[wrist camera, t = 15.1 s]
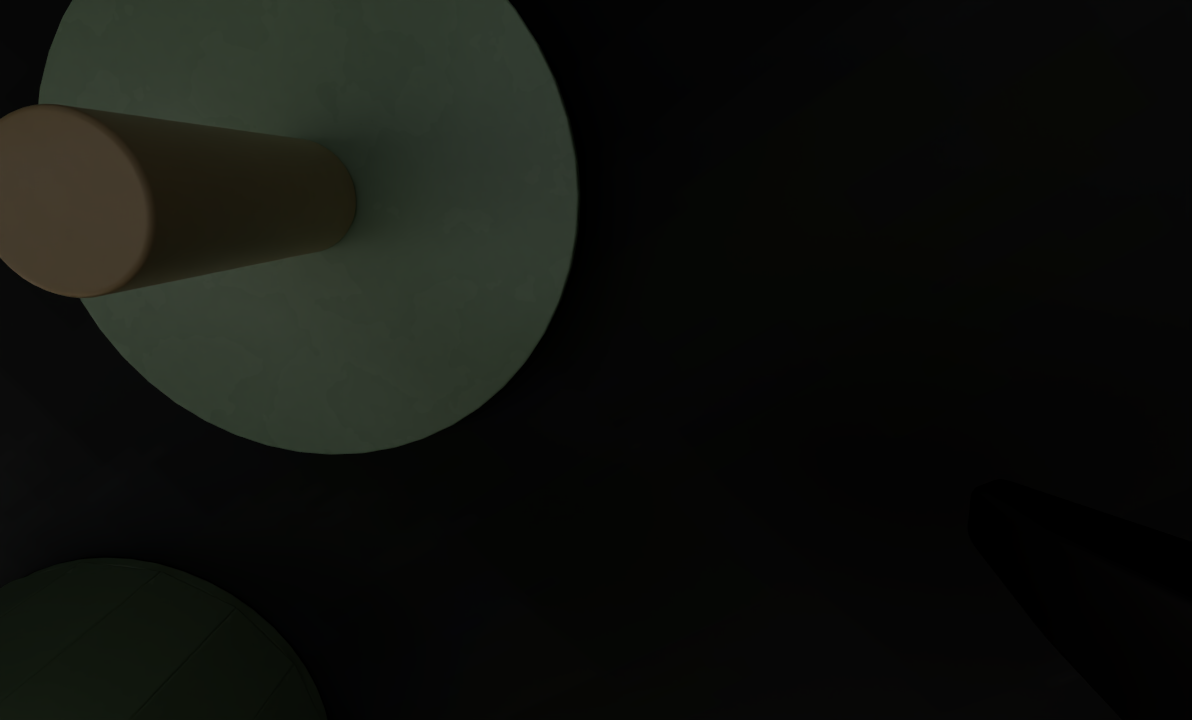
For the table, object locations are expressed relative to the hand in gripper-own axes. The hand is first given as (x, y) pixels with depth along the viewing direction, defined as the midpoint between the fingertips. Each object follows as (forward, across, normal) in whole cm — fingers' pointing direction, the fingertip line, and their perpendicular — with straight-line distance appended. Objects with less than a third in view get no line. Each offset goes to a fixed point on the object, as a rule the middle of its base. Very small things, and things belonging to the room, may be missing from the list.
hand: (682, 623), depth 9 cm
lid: (+12, +4, -4) cm, 13 cm away
